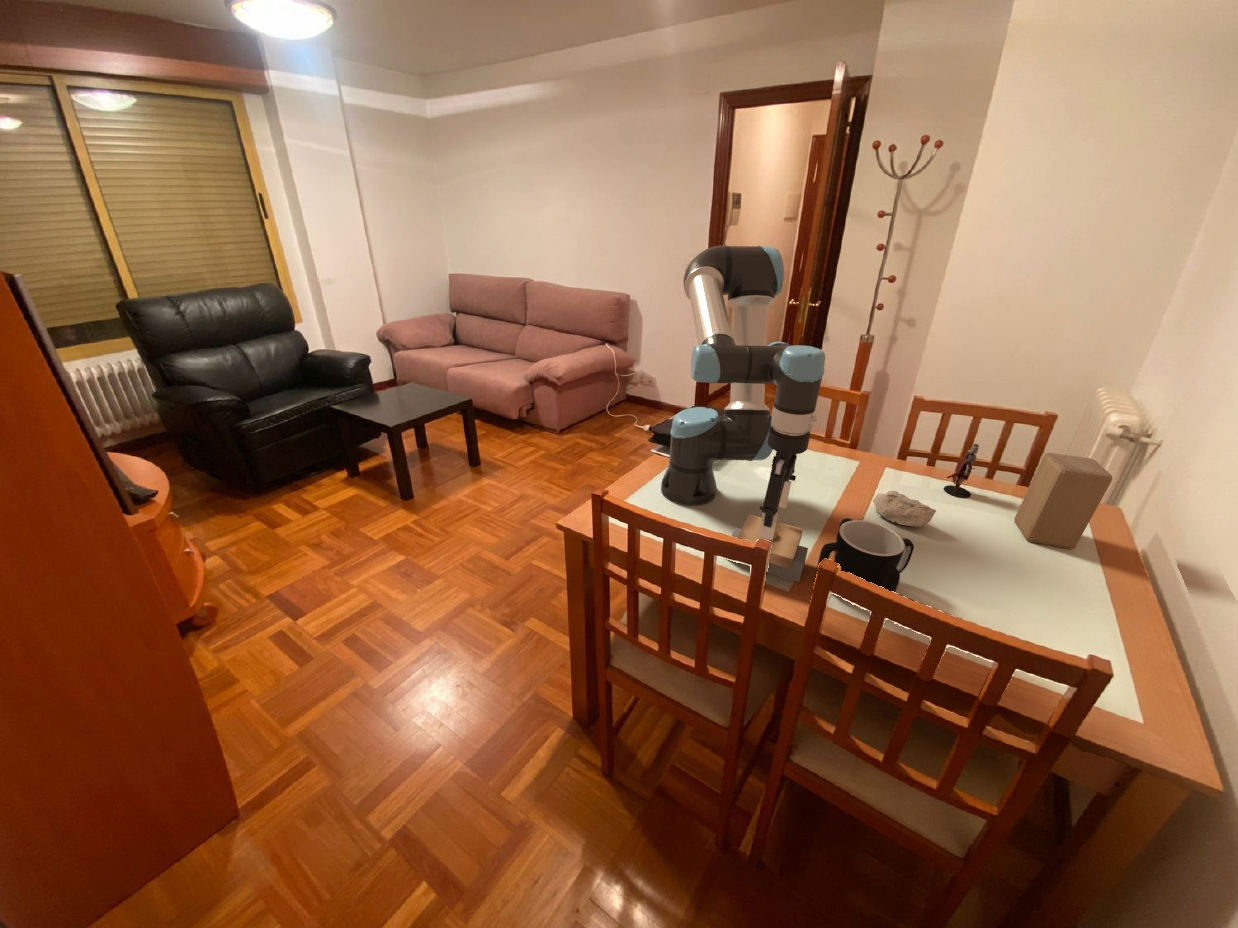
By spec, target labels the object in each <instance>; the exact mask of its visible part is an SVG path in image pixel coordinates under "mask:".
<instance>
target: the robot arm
mask: <svg viewBox="0 0 1238 928" xmlns="http://www.w3.org/2000/svg"><path fill="white" fill-rule="evenodd" d="M784 267H785V266H784V260H783V257H782V254H781V253H780V251H779V250H778V249H777V248H775V247H771V246H763V245H758V246H757V245H756V246H753V245H752V246H749V245H748V246H747V245H741V246H740V245H715V246H711V247H709V248H706V249H705V250H703V251H701V252H699V253H698V254H697V255H695V257H694V258H693V259H692V260H691V261H690V262H689V264H688V265H687V267H686V269H685V273H684V276H683V282H682V283H683V289H684V294H685V296H686V298H688V300H690V306H691V311H692V316H693V323H694V328H695V329H694V330H695V333H696V339H697V345H696V344H695V346H693V348H692V351H691V359H690V374H691V377H692V379H693V381H695V382H697V383H709V384H730V397H729V403H728V405H726V406H725V407H724V410H723V415H719V413H718V411H717V410H715V409H713V408H710V407H709V408H707V407H705V406H704V407H703V406H698V407H696V406H695V407H690V408H686V409H683V410H681V411H679V412H677V413H676V414H675V416H673V419H672V424H671V429H670V448H669V462H668V463H669V464H668V466H667V469H666V470H665V473H664V475H663V477H662V479H661V484H660V485H661V486H660V490H661V493H662V495H663V496H664V497H665V498H666V499H668V500H669V501H672V502H673V503H676V504H679V505H683V506H700V505H704V504H705V505H706V504H707V503H710V502H711V501H713V500H714V499H715V497H716V495H717V483H716V482H717V481H716V479H715V474H714V470H713V465H714V461H747V462H752V461H763V460H767V458H769V457H770V456H771V454H772V453H773V451H775V455H774V456H773V458H772V462H771V463H772V464H771V469H770V470H771V471H770V473H769V474H770V475H769V476H770V477H769V479H768V483H767V488H766V493H765V495H764V496H765V497H764V501H763V503H762V506H759V511H761V513H762V515H761V518H762V521H761V527H760V533H759V537H762V538H766V539H769V540H773V537H774V531H775V526H776V522H778V515H779V510H778V509H779V508H780V509H781V508H782V509H787V505H788V501H789V495H790V491H791V486H792V481H793V482H795V481H796V478H797V475H794V474H795V471H796V470H795V467H796V461H797V459H798V458H797V457H798V455H800V454H803V453H804V452H806V451H807V450H808V448H809V443H810V438H811V433H810V431H811V430H812V428H813V427H812V426H813V422H816V421H818V417H817V416H816V415H815V412H816V407H817V403H818V398H819V395H820V394H819V393H820V390H821V384H822V379H823V377H824V374H825V365H826V363H825V362H826V354H825V352H824V351H823V350H822V349H821V348H818V347H815V346H811V345H801V344H800V345H798V344H796V345H795V344H794V345H791V344H789V343H787V342H783V341H773V342H770V343H769V344H767V343H768V341H767V340H768V339H767V338H768V337H767V336H768V318H769V317H768V315H769V314H768V313H769V307H771V305H773V303H774V302H775V297H777V296H779V295H780V294H781V293H782V290H783V287H784V280H785V268H784ZM724 296H727V305H728V306H730V307H731V309H732V310H733V316H732V317H733V319H732V325H731V322H730V317H729V314H728V309H727V305H726V302H725V298H724ZM766 384H767V385H768V384H769V385H770V384H772V385H774V386H775V387H776V389H775V390H776V391H775V396H774V402H773V406H772V407H773V408H772V413H771V408H769V406H767V404H765V392H766V391H765V388H766Z"/></svg>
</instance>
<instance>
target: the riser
mask: <svg viewBox="0 0 1238 928" xmlns="http://www.w3.org/2000/svg"><path fill="white" fill-rule="evenodd" d="M741 530H742V528H739V527H735V529H734V530H733V532H732V533H731V536H733V537H738V535H739V533H740V531H741ZM808 550H809V548H808V547H807V546H806V547H805V546H802V545H799V546H798V549H797V552H796V555H795V558H794V561H793V564H792V567H791V569H789V568H786V567H783V566H780V565H776V564H773V563H770V562H769V568H768V572H767V573H768V574H771V575H774V576H778V577H781V578H785V579H788V580H790V581H794V582H797V583H800V580H801V577H802V573H803V570H804V568H805V563H806V560H807V555H808Z"/></svg>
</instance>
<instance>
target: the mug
mask: <svg viewBox="0 0 1238 928" xmlns="http://www.w3.org/2000/svg"><path fill="white" fill-rule="evenodd" d="M914 548H915V545H914V542H912V540H911V539H909V538H904V537H901V536H900V535H899V534H898V533H897V532H896V531H894V530H893V529H891V528H890V527H887V526H885V525H882V524H881V523H877V522H874V521H870V520H862V519H861V520H860V519H859V520H858V519H857V520H856V519H853V518H850V517H849V518H848V517H847V518H843V519H842V520H841V522H840V523H839V528H838V530H837V535H836V541H835V542H834V541H833V542H828V543H825V544H824V545H823V547H822V548H821V550H820V553H819V557H818V560H817V566H818V565H819V563H820V562H821V561H822V560H823V559H824V558H827V559H830V556H831V554H832V553H833V552H834V558H833V563H834V562H836V563H839V564H840V566H841V571H845V572H850V573H852V574H854V575H856V576H858V577H861V578H863V579H865V580H866V581H868V582H872V583H874V584H876V585H878V586H882V587H884V588H885V589H888V590H889V591H894V592H895V593H896V591H897V589H898V586H899V583H900V580H901V573H902V572H903V571H904V570H905V569H906V568H907V566H908V564H909V562H910V561H911V558H912V555H913V552H914ZM884 588H883V589H884Z"/></svg>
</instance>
